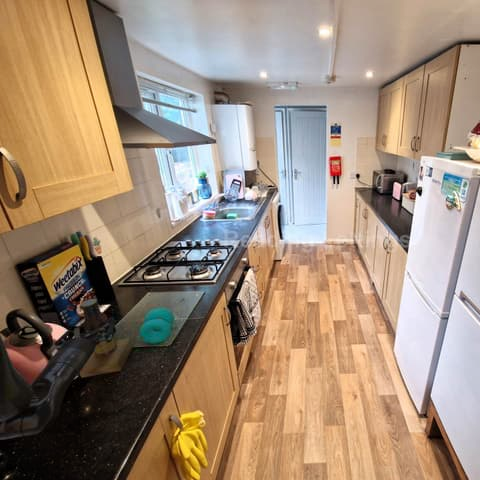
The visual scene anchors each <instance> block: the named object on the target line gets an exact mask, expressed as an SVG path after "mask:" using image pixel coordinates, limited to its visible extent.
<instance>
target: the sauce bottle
mask: <svg viewBox="0 0 480 480" xmlns="http://www.w3.org/2000/svg"><path fill="white" fill-rule="evenodd" d="M80 308H81V310H82V311H83V314H84V320H83V322H84V326H83V327H84V330H85V332H92V331H93V330H95V329H96V328H98V327H99V328H100V327H102V326H103V325H105V323H106V322H107V320H108V319H109V317H108V316H107V314H105V313H104V312H102V311H101V309H100V307H99V301H98V299H97V298H89V299H86V300H84V301H82V302H81V303H80ZM105 330H106V329H104V330H103V331H105ZM85 332H84V333H85ZM97 334H98V335H99V333H98V332H97ZM116 347H117V345H116V337H115V336H114V337H113V339H112V341H111V342H109V343H107V341H102V342H100V343H99V344H98V345H97V346H96V347H95V350H94V353H95V355H96V356H106V355H108V354H110V353H112V352H113V351H114V350H115V349H116Z"/></svg>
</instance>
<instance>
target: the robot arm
mask: <svg viewBox="0 0 480 480" xmlns="http://www.w3.org/2000/svg"><path fill="white" fill-rule="evenodd" d="M115 323H116V322H115V318H113V316H112V317H111V316H110V317H108V320H107V322H106V323H105V325H103V326H102V327H100V328H99V327H98V328H96V329H95V330H93V331H92V332H85V330H84V327H83V326H84V321H83V322H81V323H80V324H79V325H78V326H77V327H75V328H74V329H73V330H71V329H69V330H66V331H65V332H64V333H63V334H62V335H61V336H60V337H59V338H57V340H56V341H54V342H53V344H54V347H55V349H56V352H55V353H54V355H53V356H52V357H51V358H50V359H49V360H48V362H47V363H46V365H45V367H43V369H42V370H41V371H40V373H39V374H38V375H37V376H36V377H35V378H34V380H33V381H32V382H31V383H30V384H29V382H28V381H27V380H26V378H24V377H23V376H22V374H20V373H19V371H18V370H17V369H16V367H15V366H14V364H13V363H12V360H11V357H10V356H9V353H8V350H7V348H6V345H5V343H4V340H3V337H2V335H0V440H9V439H13V438H14V439H15V438H23V437H27V436H28V437H29V436H34V435H35V436H36V435H39V434H42V433H44V432H45V431H47V430H48V429H50V428H51V427H52V425H53V424H54V423H55V422H56V421H57V419H58V417H59V414H60V411H61V407H62V404H63V401H64V398H65V395H66V392H67V390H68V388H69V387H70V385H71V384H72V382H73V381H74V380H75V378H76V377H77V375H79V374H80V373H79V372H80V371H81V370H82V368H83V367H84V365H85V364H86V362H87V361H88V360H89V358H90V357H91V355H92V354H93V352H94V350H95V347H96V346H97V345H98V344H99V343H100V342H102V341H107V343H109V342H111V341H112V339H113V337H115V335H116V333H117V328H116V325H115ZM104 329H106V330H105V331H103V330H104ZM97 332H98V333H99V335H98V334H97Z"/></svg>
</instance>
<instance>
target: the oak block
mask: <svg viewBox="0 0 480 480" xmlns="http://www.w3.org/2000/svg"><path fill="white" fill-rule="evenodd" d="M115 340H116V339H115ZM116 345H117V347H116V349H115V350H114V351H113V352H112V353H110V354H108V355H106V356H96V355H95V353H94V352H93V354H92V355H91V357H90V358H89V360H88V361H87V362H86V364H85V365H84V367H83V368H82V370H81V371H80V372H79V373H78V374H79V375H80V377H81V379H83V378H88V377H94V376H98V375H105V374H110V373H115V372H121V371H122V370H123V367H124V366H125V364H126V362H127V360H128V357H129V356H130V354H131V353H132V350H133V349H134V345H133V341H132V339H131V337H129V338H124V339H117V340H116Z"/></svg>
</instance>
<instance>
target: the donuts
mask: <svg viewBox="0 0 480 480" xmlns="http://www.w3.org/2000/svg"><path fill="white" fill-rule="evenodd" d="M174 322H175V316H174V313H173V312H172V311H171V310H169V309H168V308H164V307H156V308H154V309H152V310H149V311H148V312H147V313H146V314H145V317H144V323H143V324H142V325H141V327H140V328H139V336H140V338H141V339H142V340H143V341H144V342H145V343H149V344H160V343H162V342H164V341H166V340H167V339H169V337H170V336H171V333H172V325H173V324H174Z"/></svg>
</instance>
